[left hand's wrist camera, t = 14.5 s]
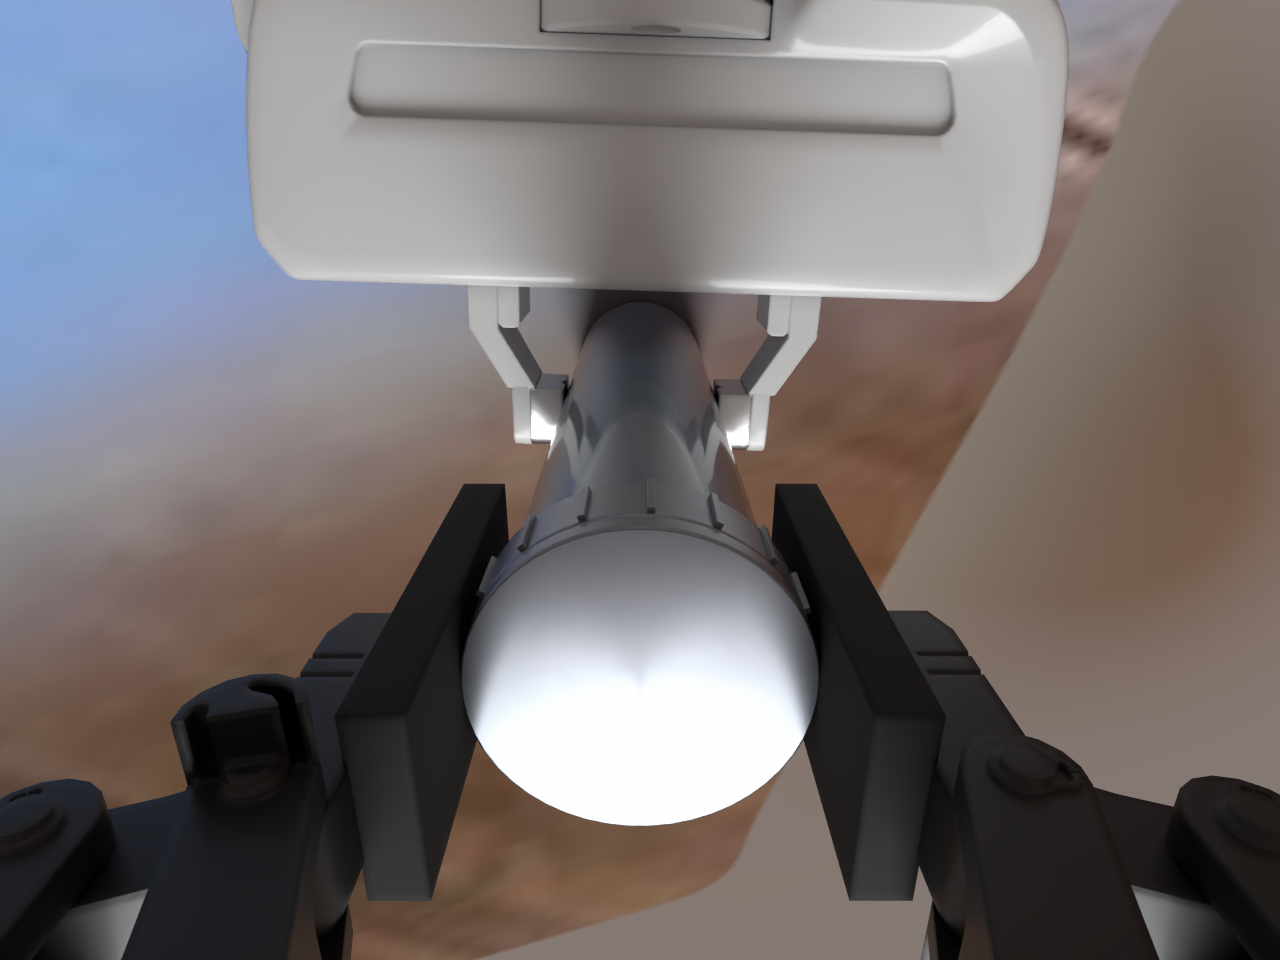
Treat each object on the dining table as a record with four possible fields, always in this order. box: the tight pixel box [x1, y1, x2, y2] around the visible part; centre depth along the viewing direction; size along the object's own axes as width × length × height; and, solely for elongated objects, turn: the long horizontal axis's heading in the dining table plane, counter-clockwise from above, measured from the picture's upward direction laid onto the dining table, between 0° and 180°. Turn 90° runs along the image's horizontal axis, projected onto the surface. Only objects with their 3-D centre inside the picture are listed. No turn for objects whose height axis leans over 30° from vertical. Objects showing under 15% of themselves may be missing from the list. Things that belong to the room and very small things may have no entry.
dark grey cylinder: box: [527, 302, 757, 526], centre depth 20 cm, size 4×4×19 cm
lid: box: [460, 478, 820, 826], centre depth 11 cm, size 5×5×2 cm
